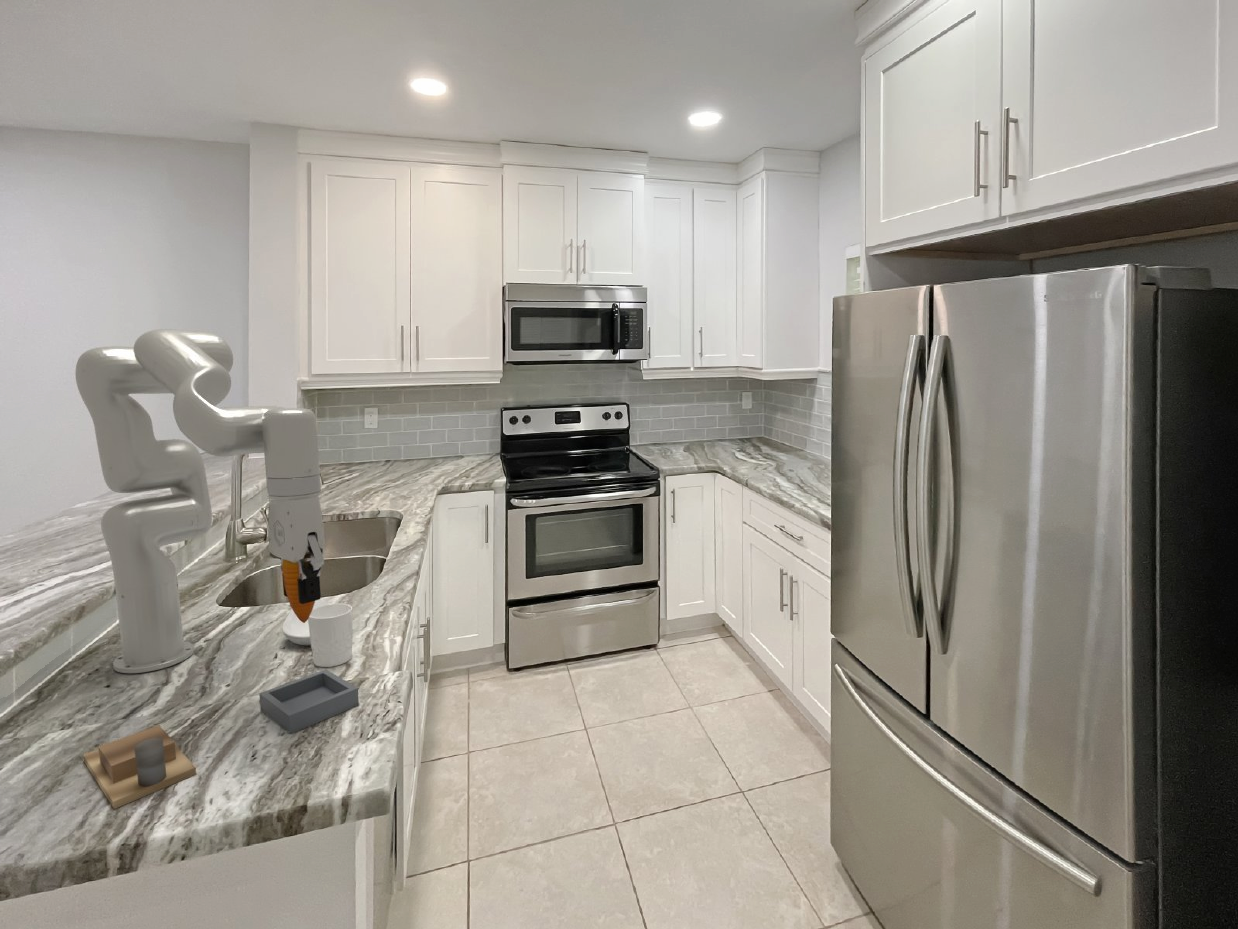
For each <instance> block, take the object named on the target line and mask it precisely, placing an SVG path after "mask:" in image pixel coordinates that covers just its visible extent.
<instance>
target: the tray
mask: <svg viewBox="0 0 1238 929" xmlns="http://www.w3.org/2000/svg"><path fill="white" fill-rule="evenodd" d="M258 695H259V703H260V704H259V705H260V706H259V707H260V708H259V709H260V711H261V712H262V713H263V714H264V715H266V717H269V718H270V719H271V720H272V721H273V722H275V723H276V724H277V726H279V727H281V728H282V729H283V730H285V731H286V732H287V733H288V734H290V735H291V734H294V733H296V732H299V731H301V730H303V729H306V728H308V727H310V726H313V725H315V724H318V723H320V722H323V721H326V720H327V719H329V718H332V717H334V716H336V715H339V714H341V713H344V712H346V711H349V710H351V709H353V708H356V707H358V706H359V705H360V703H359V688H358V687H356V686H355V685H354V684H351V683H350V682H348V681H347V680H345V679H344V678H342V677H340V676H338V675H337V674H336V673H333V672H331V671H330V670H328V669H327V668H326V669H325V668H324V670H323V669H322V670H320V671H318V672H315V673H312V674H309V675H307V676H304V677H300V678H298V679H295V680H292V681H290V682H287V683H284V684H281V685H278V686H276V687H274V688H270V689H268V690H267V689H266V690H264V691H262V692H259V693H258Z"/></svg>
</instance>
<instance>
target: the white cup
mask: <svg viewBox="0 0 1238 929" xmlns="http://www.w3.org/2000/svg"><path fill="white" fill-rule="evenodd" d="M308 626H309V634H310V641H311V645H310V648H311V651H312V660H313V664H314V665H315V666H316V667H319V668H332V667H337V666H340V665H343V664H345V663H347V662H349V661H350V660H351V659H352V655H353V653H352V651H353V648H352V647H353V607H352V605H351V604H348V603H328V605H323V606H319V607H316V608H314V609H313V610H312V612H311V614H310V616H309V618H308Z"/></svg>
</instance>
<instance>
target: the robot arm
mask: <svg viewBox="0 0 1238 929" xmlns="http://www.w3.org/2000/svg"><path fill="white" fill-rule="evenodd" d="M233 354H234V353H233V351H232V349H231V347H230V345H229V343H228V342H227V341H226V340H225V339H224V338H223V337H221V336H219V335H217V334H215V333H212V332H209V331H208V332H206V331H197V330H196V331H195V330H186V329H185V330H183V329H172V328H171V329H168V328H167V329H166V328H164V329H163V328H161V329H159V328H158V329H152V330H149V331H147V332H144V333H143V334H141V335H140V336H139V337H137V339H136V340H135V342H134V344H133V346H120V345H119V346H117V345H115V346H102V347H101V346H99V347H94V348H91V349H88V350H85V351H84V352H83V353H82V354H81V355H80V356H79V357H78V358H77V359H78V360H77V361H76V365H75V371H74V372H75V382H76V383H75V384H76V386H77V390H78V393H79V396H80V397H81V399H82V401H83V402H84V403H83V404H84V405H85V407H86V408H87V411H88V412H89V414H90V417H91V419H92V422H93V427H94V433H95V439H96V444H97V450H98V455H99V461H100V466H101V471H102V476H103V480H104V483H106V486H107V488H108V489H110V490H111V491H112V492H114V493H118V494H136V493H143V492H150V491H158V490H159V491H160V490H164V489H170V491H171V494H169V495H168V494H167V495H161V496H153V497H147V498H146V497H145V498H139V499H133V500H128V501H123V502H121V503H118V504H115V505H113V506H111V507H110V508H108V509H107V510H106V511H105V512H104V514H103V515H102V517H101V521H100V527H101V532H102V536H103V538H104V542H105V545H106V548H107V550H108V554H109V557H110V561H111V566H112V572H113V581H114V582H113V583H114V588H115V589H114V590H115V596H116V606H117V613H118V617H117V618H118V623H119V624H118V625H119V633H120V641H121V642H120V643H121V649H122V651H121V652H122V654H120V655H119V656H117V657H116V658H115V659H114V660H113V663H112V666H113V670H114V671H115V672H118V673H122V674H141V673H149V672H153V671H158V670H162V669H165V668H169V667H172V666H175V665H176V664H180V663H181V662H183V661H185V660H187V659H188V658H190V657H191V656H192V655H193V654H194V652H195V647H194V644H193V643H192V642H191V641H186V640H184V631H183V620H182V611H181V610H182V609H181V601H180V600H181V599H180V591H179V590H180V588H179V581H178V571H177V568H176V565H175V563H174V562H173V560H172V559H170V558H169V557H168V556H167V555H166V554H165V553H164V552H162V550H161V548H162V547H165V546H168V545H172V544H177V543H181V542H186V541H190V540H194V539H198V538H200V537H203V536H205V535H206V534H207V533H208V532H209V531H210V529H211V527H212V523H213V522H212V521H213V513H212V505H211V498H210V491H209V486H208V479H207V473H206V468H205V463H204V459H203V457H202V454H201V453H200V451H199V450H198V448H199V449H200V450H202V451H203V452H205V453H207V454H210V455H212V456H216V457H225V458H226V457H233V456H242V455H250V454H264V467H265V477H266V478H265V479H266V489H267V490H266V491H267V492H266V493H267V499H269V500H268V507H267V521H268V523H267V524H268V525H267V528H268V534H267V535H268V550H269V553H271V554H272V555H274V556H275V557H278V559H279V560H280V570H281V573H282V574H281V575H282V576H281V577H282V588H283V590H282V591H283V595H284V597H286V598H288V597H287V593H286V590H285V584H284V577H283V568H282V562H283V560H284V559H285V560H287V561H290V562H293V563H295V562H297V565H298V570H299V576H300V579H297V582H298V596H299V603H301V604H305V603H309V602H312V601H316V600H319V599H320V598H322V594H321V581H320V580H321V579H320V576H321V569H322V566H323V565H324V564H325V558H324V556H323V555H324V554H325V553H326V552H325V551H326V548H325V546H326V544H325V542H326V541H325V529H324V528H325V527H324V521H323V514H322V507H321V502H320V497H319V496H321V495H322V486H321V483H322V482H321V473H320V472H321V470H320V458H319V457H320V456H319V454H320V453H319V442H318V426H317V423H318V422H317V417H316V414H315V413H314V412H313V411H312V410H311V409H308V408H303V407H302V408H300V407H299V408H295V407H294V408H292V407H291V408H290V407H289V408H287V407H286V408H285V407H281V406H277V405H275V406H274V405H265V406H264V405H262V406H253V405H252V406H230V407H229V406H227V407H217V405H219V404H220V403H221V402H222V401H224V399H226V397H227V396H228V394H229V392H230V391H231V387H232V377H231V376H230V372H231V370H232V368H233V365H234V356H233ZM133 394H135V395H139V394H140V395H141V394H143V395H145V394H147V395H148V394H153V395H154V394H155V395H156V394H163V395H164V394H173V395H174V397H173V402H172V411H173V416H174V419H175V422H176V425H177V427H178V429H179V431H180V432H181V433H182V434H183V435H184V436H185V437H186V438H187V439H188V440H190V441H191V442H190V441H188V440H183V439H180V438H179V439H175V438H173V439H159V440H158V439H156V437H155V432H154V427H153V422H152V418H151V415H150V414H149V413H148V411H147V410H146V409H145V408H144V407H143V405H141V404H140V403H139V402H138V401H137V399H135V398H133V397H132V396H130V395H133ZM197 447H198V448H197ZM306 554H310V556H311V557H310V558H305V559H303V558H304V556H305V555H306ZM310 561H311V563H310V564H308V565H307V566H306V568H305V566H304V563H305V562H310Z"/></svg>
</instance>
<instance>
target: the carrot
mask: <svg viewBox="0 0 1238 929" xmlns="http://www.w3.org/2000/svg"><path fill="white" fill-rule="evenodd" d="M310 557H311V556H310V554H306V555H305V556H304V558H303V559H305V558H310ZM310 563H311V561H310V562H305V563H304V566H305V568H306V566H307V565H308V564H310ZM282 568H283V572H282V573H283V577H284V584H285V590H286V593H287V597H286V598H287V599H288V602H289V606H290V607H291V610H292V609H293V611H294V613H295V615H296V616H297V617H298V619H299V620H300V621H301V622H303V623H305V622H306V621H307V620H308V618H309V616H310V614H311V612H312V610H313V606H314V603H315V601H312V602H309V603H305V604H301V603H299V596H298V582H297V579H300V576H299V570H298V565H297V562H295V563H293V562H290V561H287V560H285V559H284V560H283V562H282ZM283 577H282V578H283Z"/></svg>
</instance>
